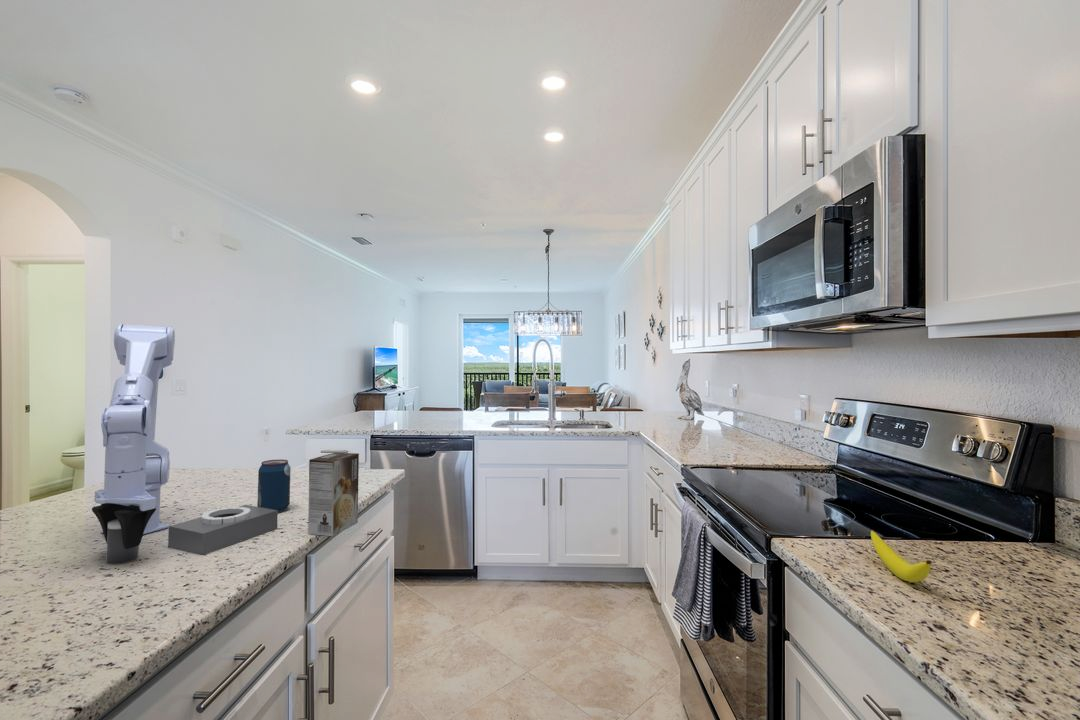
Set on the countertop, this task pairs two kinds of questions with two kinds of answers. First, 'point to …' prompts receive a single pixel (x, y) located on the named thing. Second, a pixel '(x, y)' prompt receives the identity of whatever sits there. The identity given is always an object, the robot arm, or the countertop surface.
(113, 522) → the lens
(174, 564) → the countertop surface
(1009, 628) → the countertop surface
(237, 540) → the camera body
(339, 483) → the cardboard rectangular box
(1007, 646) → the countertop surface
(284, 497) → the soda can
